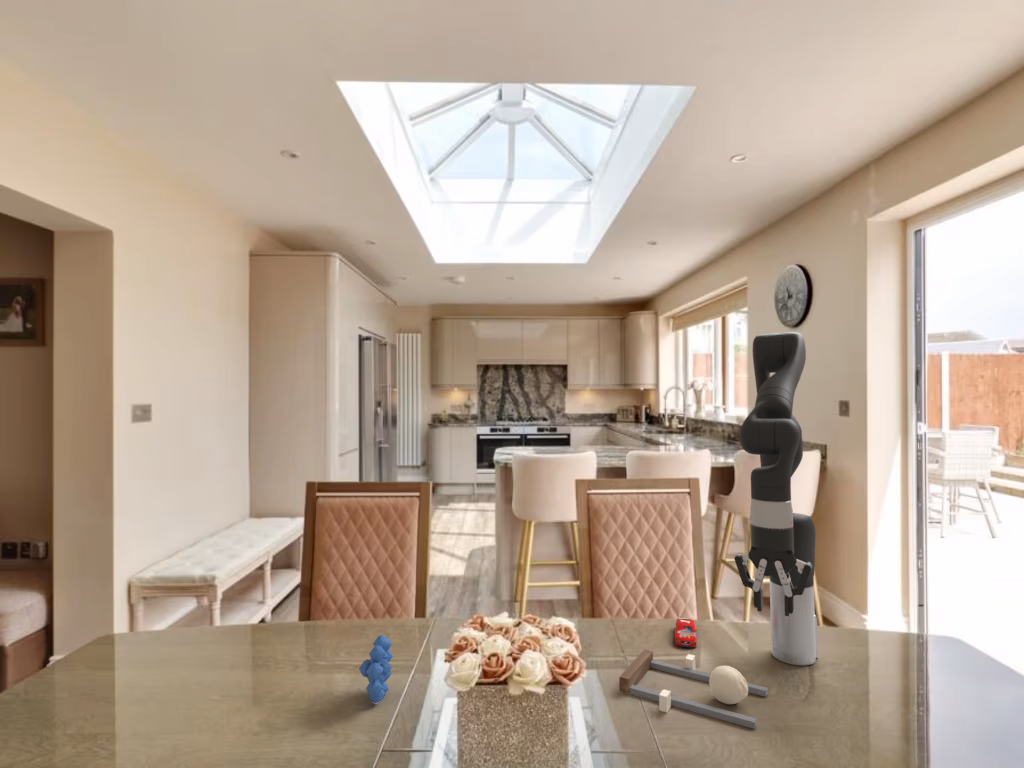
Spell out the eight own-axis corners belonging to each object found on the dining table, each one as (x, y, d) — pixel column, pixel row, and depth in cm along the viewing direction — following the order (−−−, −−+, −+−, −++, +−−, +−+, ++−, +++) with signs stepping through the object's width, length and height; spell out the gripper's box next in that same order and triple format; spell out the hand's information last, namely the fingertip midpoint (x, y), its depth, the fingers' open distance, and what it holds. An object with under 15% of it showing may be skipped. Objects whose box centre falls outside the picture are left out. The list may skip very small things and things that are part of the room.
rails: (767, 693, 116) (767, 687, 116) (754, 729, 103) (754, 722, 103) (652, 665, 129) (652, 659, 129) (629, 693, 116) (629, 687, 116)
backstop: (653, 664, 129) (652, 651, 129) (628, 693, 116) (628, 679, 116) (644, 662, 130) (644, 649, 130) (619, 691, 117) (619, 676, 117)
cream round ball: (745, 715, 108) (744, 679, 108) (705, 704, 112) (705, 670, 112) (751, 699, 114) (751, 665, 114) (714, 689, 118) (713, 657, 118)
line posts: (695, 669, 126) (695, 655, 126) (667, 712, 109) (666, 696, 109) (688, 667, 127) (688, 654, 127) (659, 710, 110) (659, 694, 110)
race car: (697, 651, 136) (696, 635, 136) (673, 649, 137) (673, 632, 138) (697, 629, 148) (696, 614, 148) (675, 627, 150) (675, 612, 150)
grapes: (366, 683, 122) (366, 626, 122) (398, 682, 122) (397, 626, 122) (350, 713, 110) (350, 650, 111) (385, 712, 110) (384, 650, 111)
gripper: (815, 522, 108) (817, 613, 108) (736, 515, 116) (738, 599, 116) (811, 530, 102) (813, 627, 102) (728, 522, 110) (730, 611, 109)
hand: (773, 612), depth 109 cm, fingers open, 4 cm apart
